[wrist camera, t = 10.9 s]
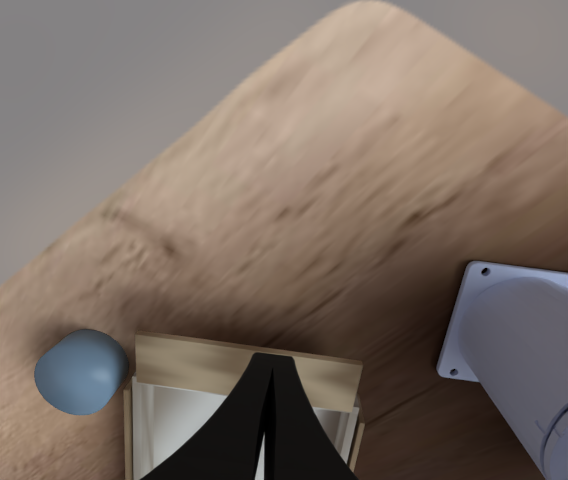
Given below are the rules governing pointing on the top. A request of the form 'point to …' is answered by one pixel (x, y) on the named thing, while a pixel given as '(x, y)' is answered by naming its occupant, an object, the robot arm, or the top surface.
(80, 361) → the blue pebble
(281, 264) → the top surface
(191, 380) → the flap
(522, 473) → the top surface
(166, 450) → the carton
